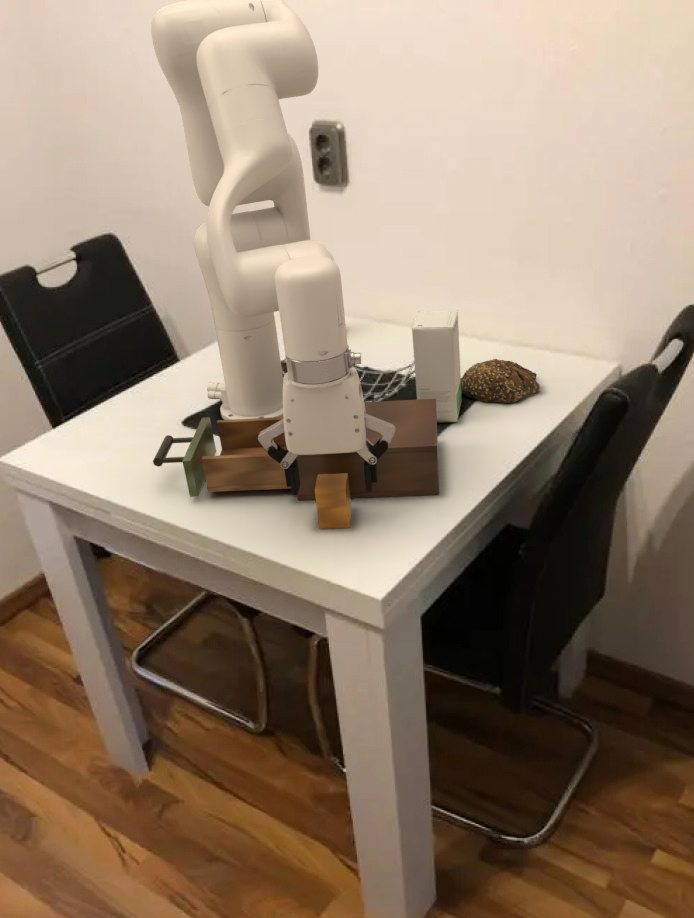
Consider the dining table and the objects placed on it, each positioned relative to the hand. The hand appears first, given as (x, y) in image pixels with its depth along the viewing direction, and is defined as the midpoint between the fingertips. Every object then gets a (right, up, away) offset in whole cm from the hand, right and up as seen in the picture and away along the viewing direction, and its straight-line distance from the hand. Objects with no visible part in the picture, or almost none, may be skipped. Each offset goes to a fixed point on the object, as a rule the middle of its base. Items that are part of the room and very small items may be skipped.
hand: (333, 488), depth 118 cm
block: (0, -4, +3) cm, 5 cm away
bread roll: (+27, +18, +33) cm, 46 cm away
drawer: (-13, +3, +15) cm, 20 cm away
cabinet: (+5, +3, +13) cm, 15 cm away
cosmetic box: (+16, +14, +28) cm, 35 cm away
